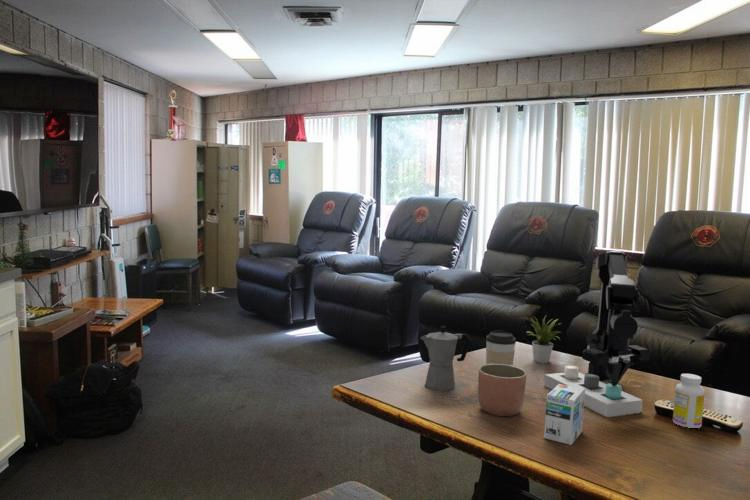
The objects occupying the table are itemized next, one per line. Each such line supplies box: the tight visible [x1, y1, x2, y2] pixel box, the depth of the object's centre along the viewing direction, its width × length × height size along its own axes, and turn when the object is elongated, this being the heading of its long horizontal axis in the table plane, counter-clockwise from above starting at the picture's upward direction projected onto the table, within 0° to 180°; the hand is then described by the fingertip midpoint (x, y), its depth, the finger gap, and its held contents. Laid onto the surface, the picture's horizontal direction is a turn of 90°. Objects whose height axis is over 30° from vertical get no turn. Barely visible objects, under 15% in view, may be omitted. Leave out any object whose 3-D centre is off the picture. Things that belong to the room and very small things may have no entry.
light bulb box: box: [543, 384, 585, 446], centre depth 145 cm, size 11×7×11 cm, turn 148°
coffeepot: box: [420, 325, 472, 392], centre depth 177 cm, size 15×9×18 cm, turn 101°
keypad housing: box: [543, 372, 644, 418], centre depth 172 cm, size 12×26×4 cm, turn 22°
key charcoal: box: [584, 373, 599, 390], centre depth 172 cm, size 4×4×4 cm
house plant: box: [521, 314, 562, 364], centre depth 208 cm, size 14×14×16 cm
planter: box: [477, 364, 528, 417], centre depth 159 cm, size 12×12×11 cm
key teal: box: [605, 382, 623, 400], centre depth 164 cm, size 4×4×4 cm
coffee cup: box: [485, 329, 517, 366], centre depth 185 cm, size 9×9×15 cm
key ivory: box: [563, 365, 580, 381], centre depth 180 cm, size 4×4×4 cm
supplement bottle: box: [672, 373, 705, 429], centre depth 155 cm, size 7×7×13 cm
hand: (613, 385), depth 164 cm, fingers closed
